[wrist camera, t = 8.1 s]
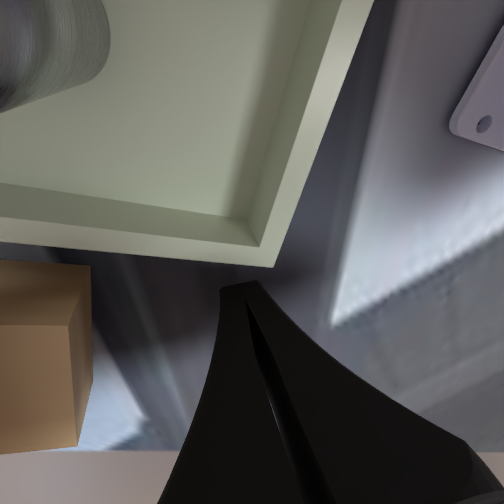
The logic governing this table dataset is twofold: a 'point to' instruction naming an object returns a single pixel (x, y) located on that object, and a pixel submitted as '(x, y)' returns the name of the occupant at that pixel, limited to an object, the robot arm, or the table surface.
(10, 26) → the pin
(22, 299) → the block
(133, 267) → the table surface
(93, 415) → the table surface
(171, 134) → the tray
